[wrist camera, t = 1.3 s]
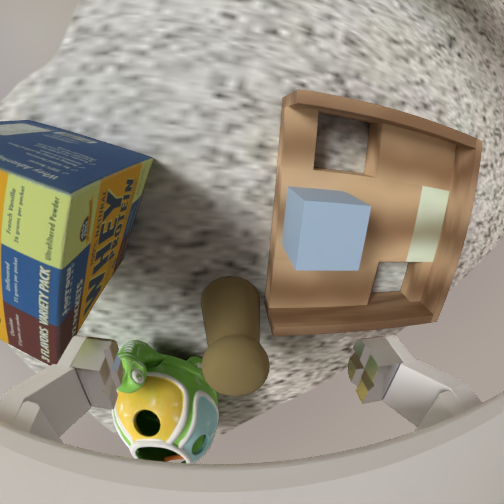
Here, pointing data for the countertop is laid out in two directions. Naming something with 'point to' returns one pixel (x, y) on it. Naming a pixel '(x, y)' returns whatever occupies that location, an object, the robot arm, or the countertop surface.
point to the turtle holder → (164, 406)
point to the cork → (233, 337)
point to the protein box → (60, 230)
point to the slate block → (324, 229)
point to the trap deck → (374, 218)
